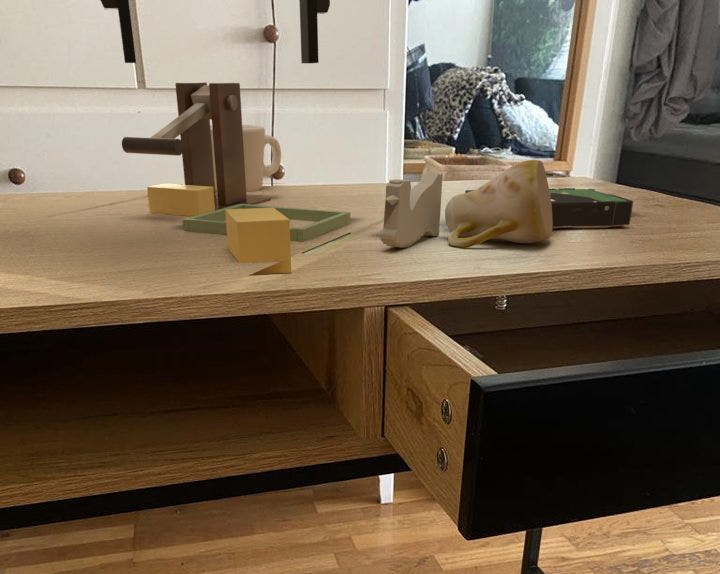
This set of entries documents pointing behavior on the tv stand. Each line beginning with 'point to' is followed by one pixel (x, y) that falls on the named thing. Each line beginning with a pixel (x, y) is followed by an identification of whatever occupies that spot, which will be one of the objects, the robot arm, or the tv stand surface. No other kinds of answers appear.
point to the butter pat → (259, 238)
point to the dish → (324, 218)
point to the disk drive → (588, 208)
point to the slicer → (216, 144)
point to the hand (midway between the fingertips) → (222, 63)
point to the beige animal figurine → (411, 210)
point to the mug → (503, 208)
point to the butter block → (181, 199)
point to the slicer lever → (172, 129)
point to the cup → (255, 156)
